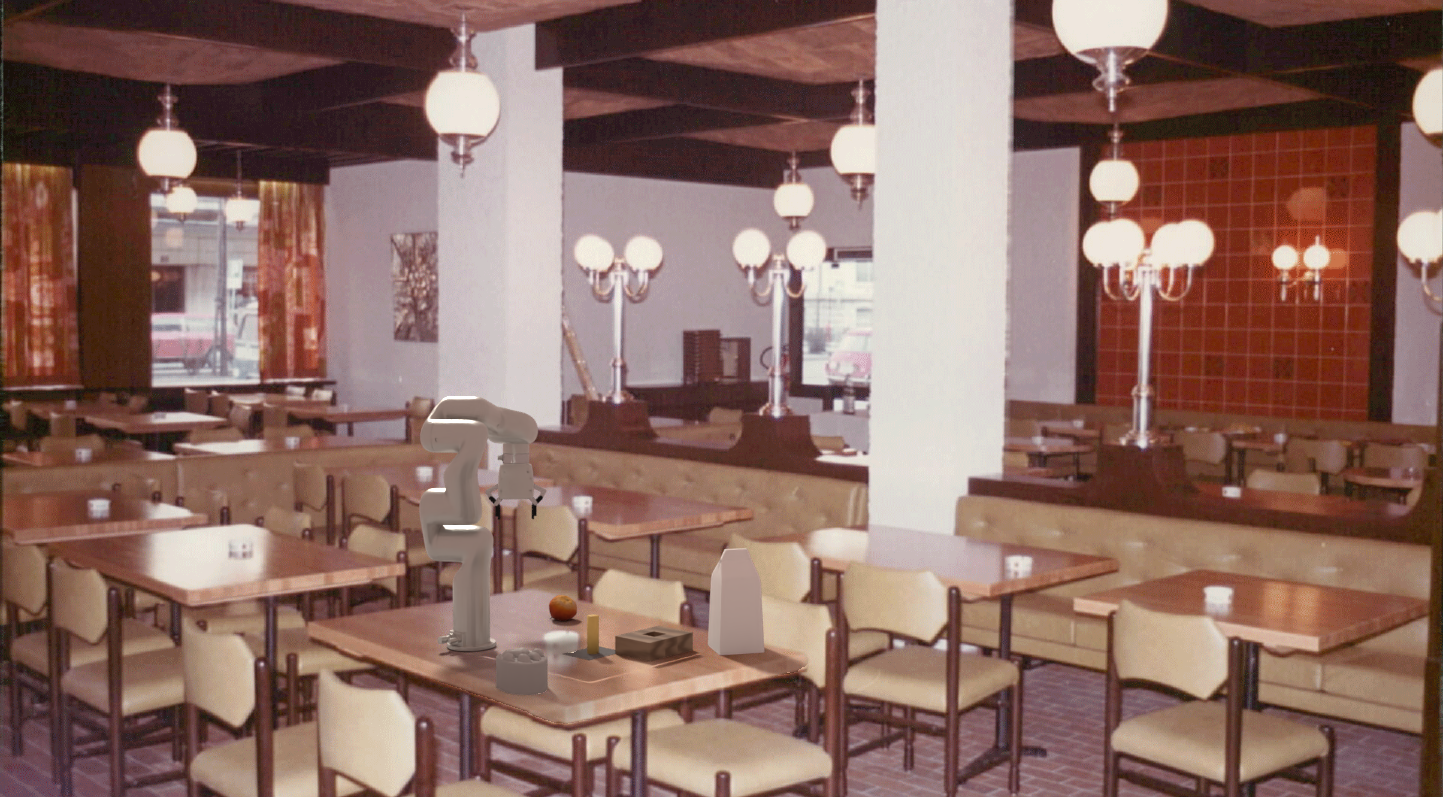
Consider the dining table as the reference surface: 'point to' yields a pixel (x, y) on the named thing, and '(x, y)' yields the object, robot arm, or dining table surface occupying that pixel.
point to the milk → (735, 605)
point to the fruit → (562, 608)
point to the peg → (592, 634)
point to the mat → (586, 656)
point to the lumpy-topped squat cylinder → (522, 671)
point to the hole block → (653, 643)
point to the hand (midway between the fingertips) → (515, 519)
